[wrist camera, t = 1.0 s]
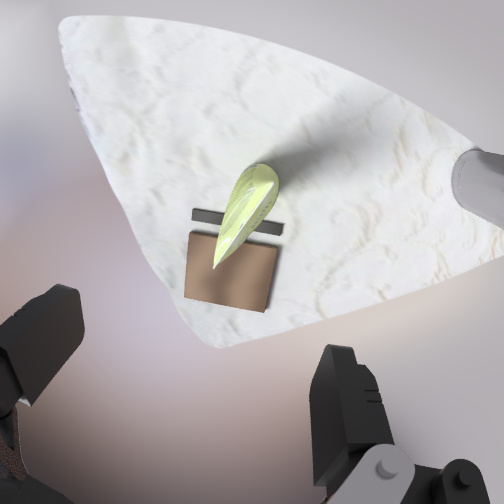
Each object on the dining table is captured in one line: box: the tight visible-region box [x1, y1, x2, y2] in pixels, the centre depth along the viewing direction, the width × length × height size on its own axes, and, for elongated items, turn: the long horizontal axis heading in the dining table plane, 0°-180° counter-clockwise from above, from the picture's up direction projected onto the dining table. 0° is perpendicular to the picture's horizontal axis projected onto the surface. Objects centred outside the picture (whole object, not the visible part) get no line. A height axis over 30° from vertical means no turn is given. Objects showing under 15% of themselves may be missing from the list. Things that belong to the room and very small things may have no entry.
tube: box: [213, 164, 279, 269], centre depth 29 cm, size 6×5×20 cm
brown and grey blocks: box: [184, 209, 282, 313], centre depth 42 cm, size 12×13×1 cm
